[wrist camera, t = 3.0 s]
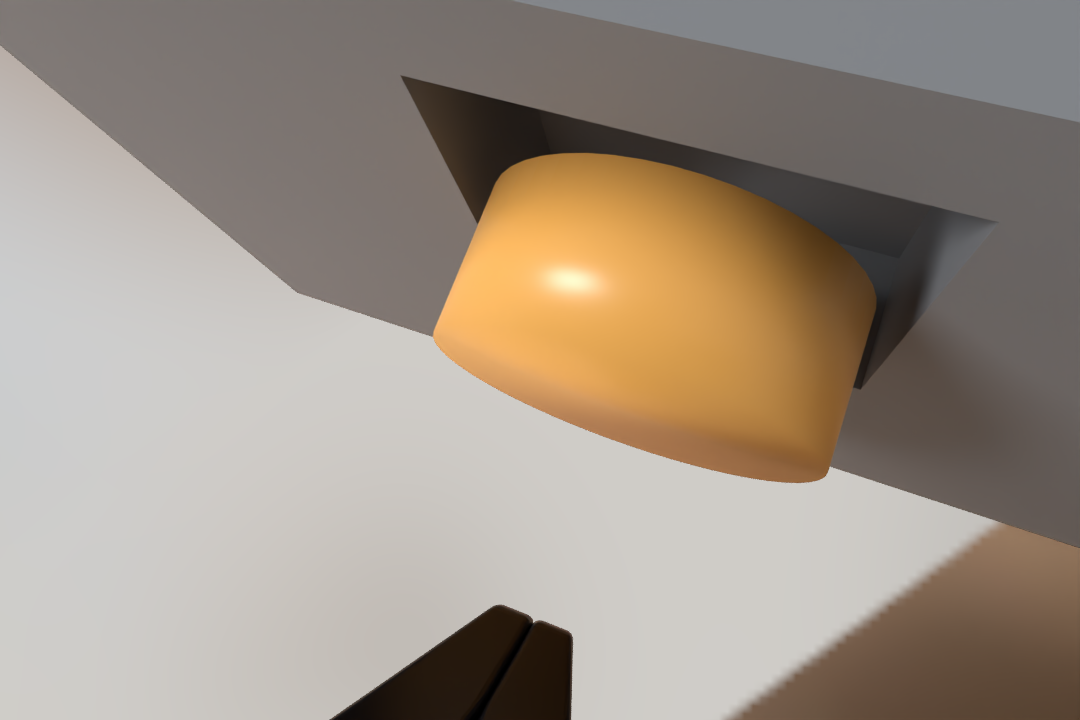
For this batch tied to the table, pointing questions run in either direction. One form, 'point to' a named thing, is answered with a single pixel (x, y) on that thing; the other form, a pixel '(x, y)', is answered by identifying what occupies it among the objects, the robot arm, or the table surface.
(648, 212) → the orange button
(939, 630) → the table surface
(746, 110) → the console
